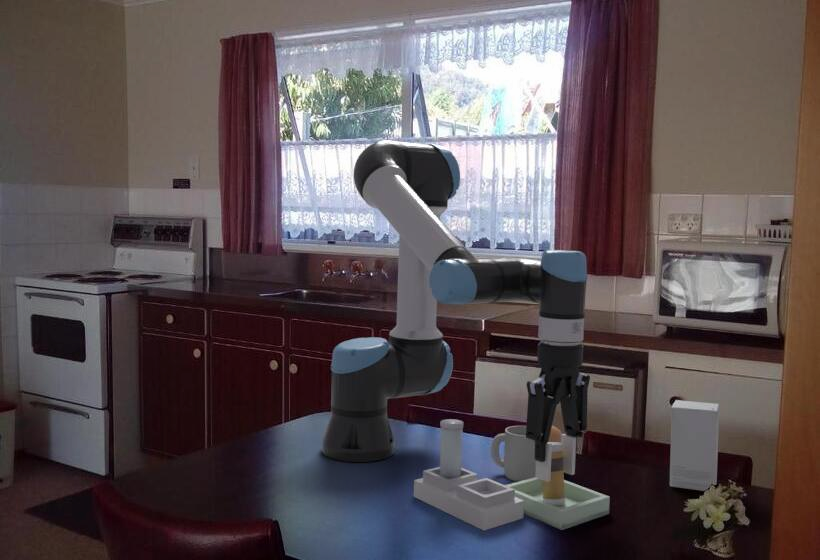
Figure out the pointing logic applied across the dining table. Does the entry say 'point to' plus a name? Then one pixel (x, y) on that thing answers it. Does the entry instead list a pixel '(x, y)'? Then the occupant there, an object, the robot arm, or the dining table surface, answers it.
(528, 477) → the cup
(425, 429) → the dining table surface
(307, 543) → the dining table surface
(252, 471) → the dining table surface
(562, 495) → the cylinder
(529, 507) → the parts tray
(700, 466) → the skincare box
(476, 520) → the block
